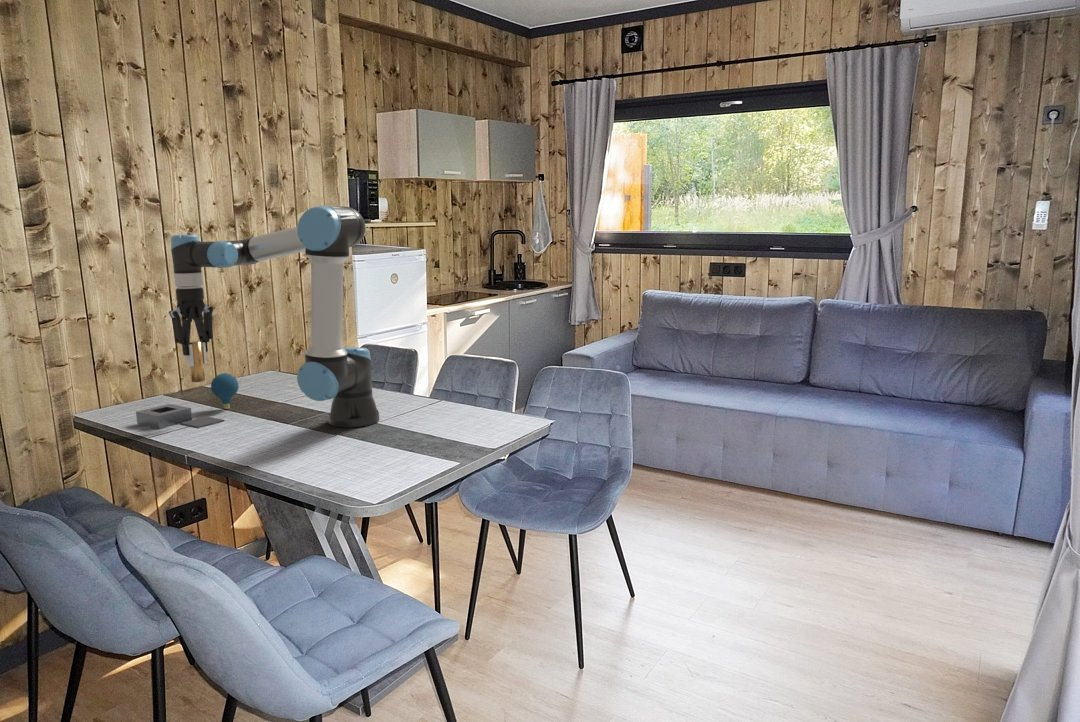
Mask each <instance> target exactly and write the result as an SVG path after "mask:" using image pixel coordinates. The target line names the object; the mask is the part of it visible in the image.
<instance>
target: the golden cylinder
mask: <svg viewBox="0 0 1080 722" xmlns="http://www.w3.org/2000/svg"><path fill="white" fill-rule="evenodd" d="M189 344H191V345H192V348H193V358H194V366H189V371H190V382H192V383H202V382H205V381H206V376H205V375H206V374H205V367H204V365H205V364H203V353H202V342H201V341H200V340H190V343H189Z"/></svg>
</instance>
